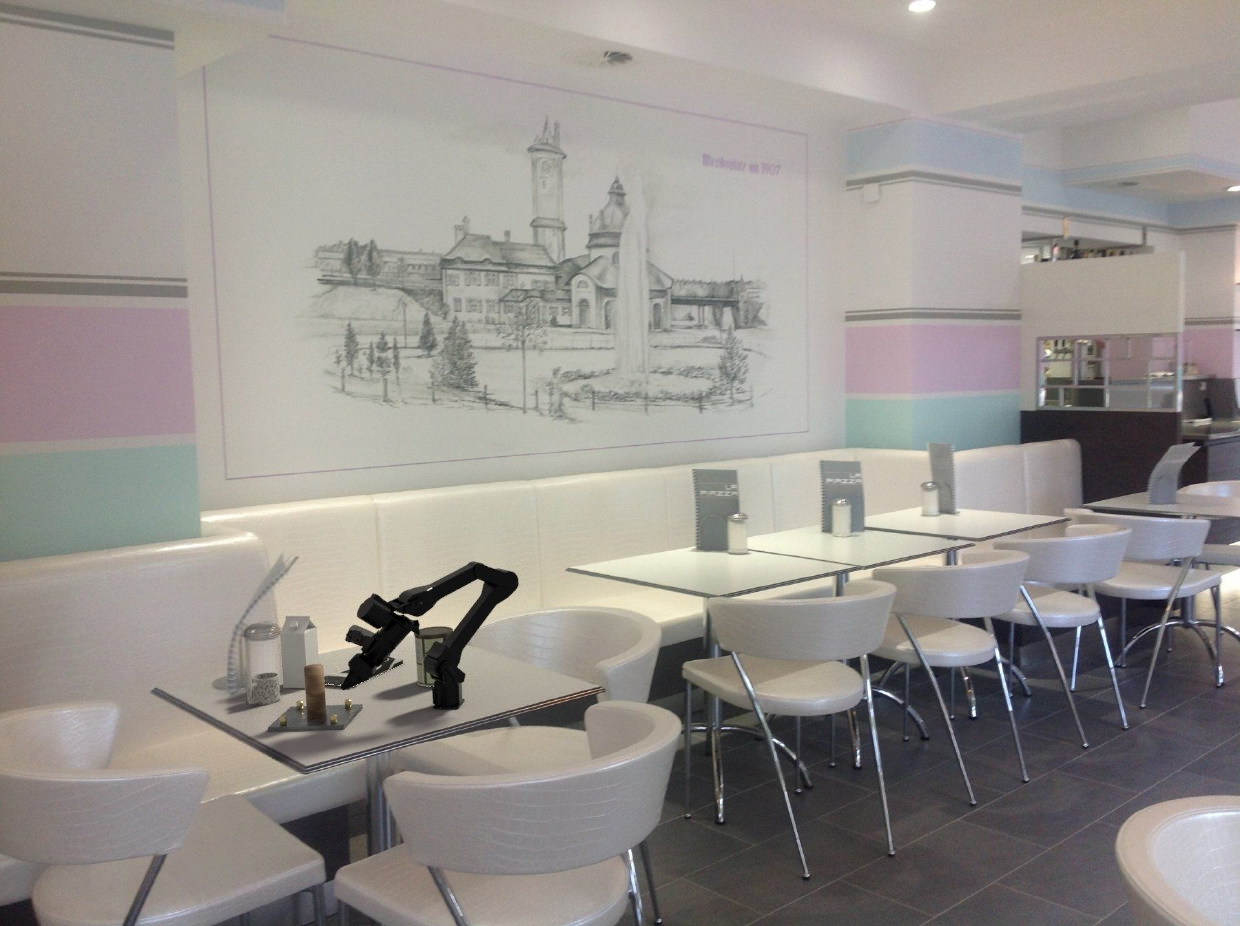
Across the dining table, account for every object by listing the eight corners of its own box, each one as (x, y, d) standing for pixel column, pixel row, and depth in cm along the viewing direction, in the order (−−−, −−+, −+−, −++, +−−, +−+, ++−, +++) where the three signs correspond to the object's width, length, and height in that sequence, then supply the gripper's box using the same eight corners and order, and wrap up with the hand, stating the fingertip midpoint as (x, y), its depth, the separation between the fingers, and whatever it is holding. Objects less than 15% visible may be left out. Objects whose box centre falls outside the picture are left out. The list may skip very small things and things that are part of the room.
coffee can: (445, 674, 291) (442, 624, 290) (462, 682, 283) (459, 630, 282) (410, 681, 285) (407, 630, 284) (426, 689, 277) (423, 636, 276)
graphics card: (323, 675, 284) (377, 652, 308) (323, 688, 285) (378, 663, 308) (354, 678, 281) (406, 654, 304) (354, 690, 281) (407, 665, 304)
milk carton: (296, 681, 291) (292, 613, 290) (320, 681, 289) (316, 613, 288) (283, 688, 284) (278, 618, 283) (307, 689, 282) (303, 618, 281)
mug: (265, 696, 277) (263, 671, 277) (285, 698, 275) (284, 673, 274) (238, 707, 268) (236, 682, 267) (259, 710, 265) (257, 684, 265)
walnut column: (329, 712, 257) (326, 663, 256) (322, 718, 253) (319, 668, 252) (311, 712, 258) (308, 664, 257) (304, 718, 253) (300, 669, 252)
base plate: (362, 708, 263) (362, 697, 263) (344, 728, 247) (343, 717, 247) (291, 710, 264) (290, 699, 263) (268, 731, 248) (267, 719, 247)
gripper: (374, 605, 263) (333, 651, 264) (354, 623, 244) (310, 671, 245) (407, 635, 263) (366, 681, 264) (390, 655, 245) (346, 703, 246)
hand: (347, 683), depth 255 cm, fingers open, 9 cm apart
